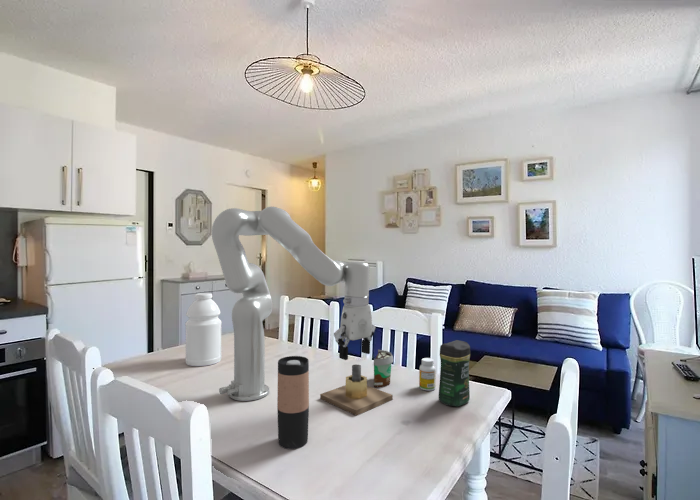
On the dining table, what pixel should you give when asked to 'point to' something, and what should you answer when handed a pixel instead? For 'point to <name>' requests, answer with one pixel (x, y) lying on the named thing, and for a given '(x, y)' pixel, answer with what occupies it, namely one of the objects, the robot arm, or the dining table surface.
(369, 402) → the post stand
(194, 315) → the bottle
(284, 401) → the travel mug
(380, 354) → the food container
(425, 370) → the supplement bottle
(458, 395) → the coffee jar
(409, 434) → the dining table surface
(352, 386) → the brass collar
